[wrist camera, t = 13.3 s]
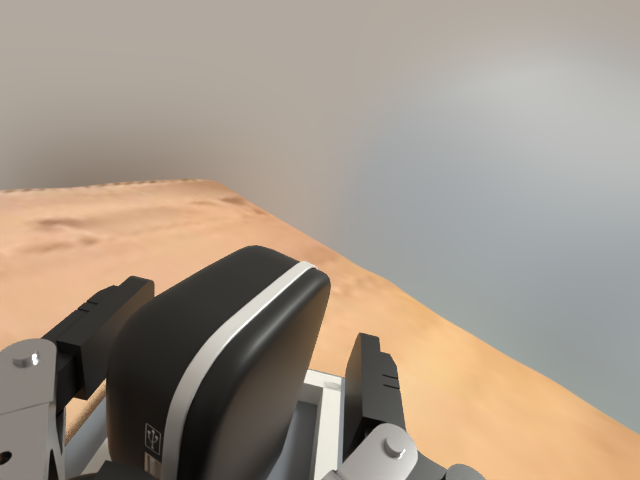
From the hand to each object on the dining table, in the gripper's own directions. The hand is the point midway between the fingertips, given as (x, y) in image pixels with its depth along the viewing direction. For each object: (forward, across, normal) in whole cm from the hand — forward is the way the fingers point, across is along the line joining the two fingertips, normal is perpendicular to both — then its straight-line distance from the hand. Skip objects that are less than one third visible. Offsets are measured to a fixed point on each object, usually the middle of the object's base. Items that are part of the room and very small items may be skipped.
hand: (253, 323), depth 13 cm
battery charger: (-2, 0, +8) cm, 8 cm away
